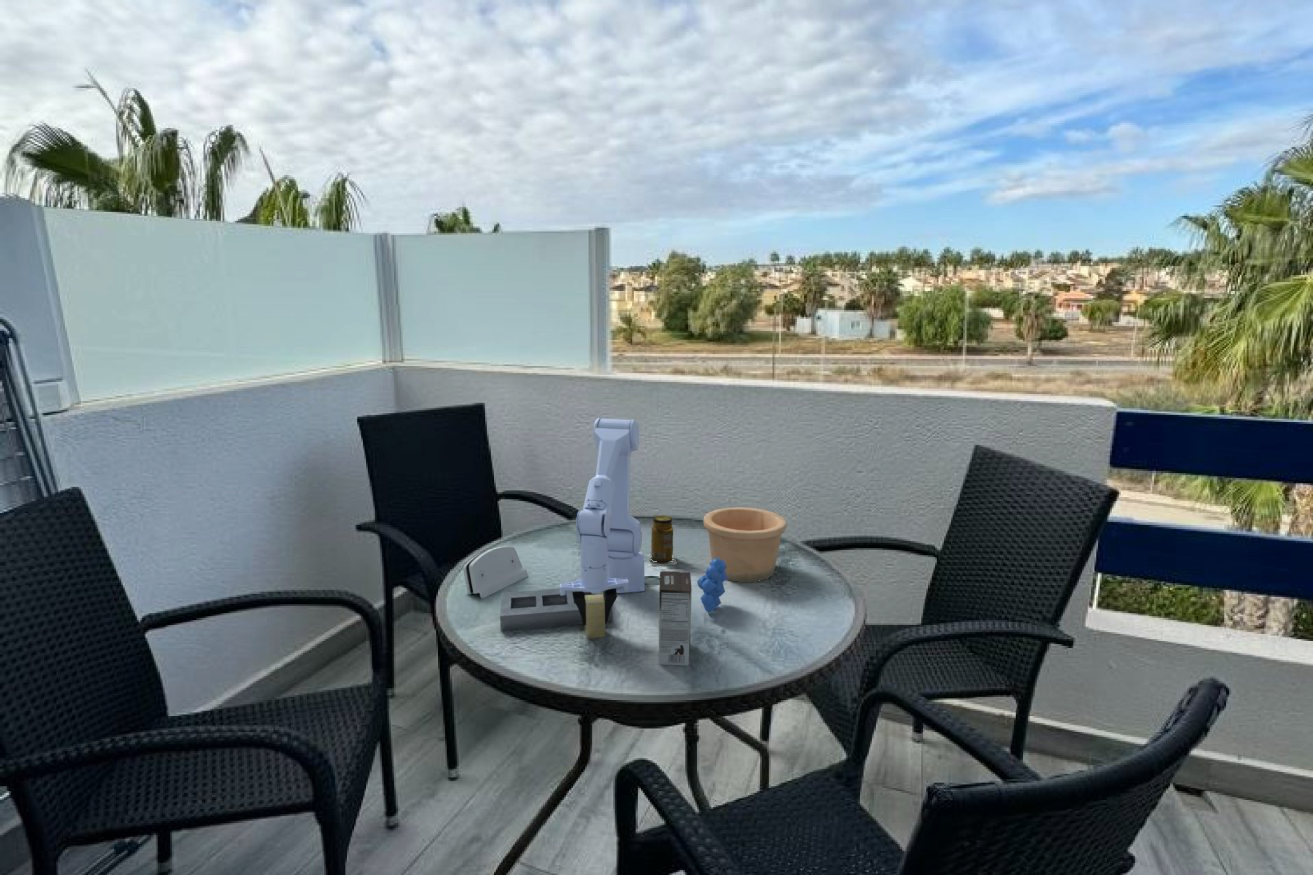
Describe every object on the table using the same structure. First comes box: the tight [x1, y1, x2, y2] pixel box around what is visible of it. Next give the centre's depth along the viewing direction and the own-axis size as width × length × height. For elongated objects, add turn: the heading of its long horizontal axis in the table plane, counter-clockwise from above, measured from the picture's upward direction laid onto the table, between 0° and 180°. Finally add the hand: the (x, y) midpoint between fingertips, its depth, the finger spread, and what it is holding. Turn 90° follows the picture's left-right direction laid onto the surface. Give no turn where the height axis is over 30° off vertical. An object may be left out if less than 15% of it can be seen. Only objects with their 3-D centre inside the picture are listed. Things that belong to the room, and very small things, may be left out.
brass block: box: [584, 594, 606, 639], centre depth 141 cm, size 4×4×8 cm
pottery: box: [702, 506, 788, 583], centre depth 175 cm, size 22×22×14 cm
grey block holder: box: [499, 587, 611, 632], centre depth 150 cm, size 24×12×4 cm, turn 101°
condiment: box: [646, 515, 679, 567], centre depth 182 cm, size 7×8×12 cm
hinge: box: [462, 546, 529, 599], centre depth 166 cm, size 17×5×10 cm, turn 148°
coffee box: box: [658, 570, 693, 666], centre depth 132 cm, size 9×6×16 cm
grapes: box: [696, 558, 727, 613], centre depth 153 cm, size 12×7×12 cm, turn 154°
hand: (594, 622), depth 141 cm, fingers closed on brass block, 4 cm apart
